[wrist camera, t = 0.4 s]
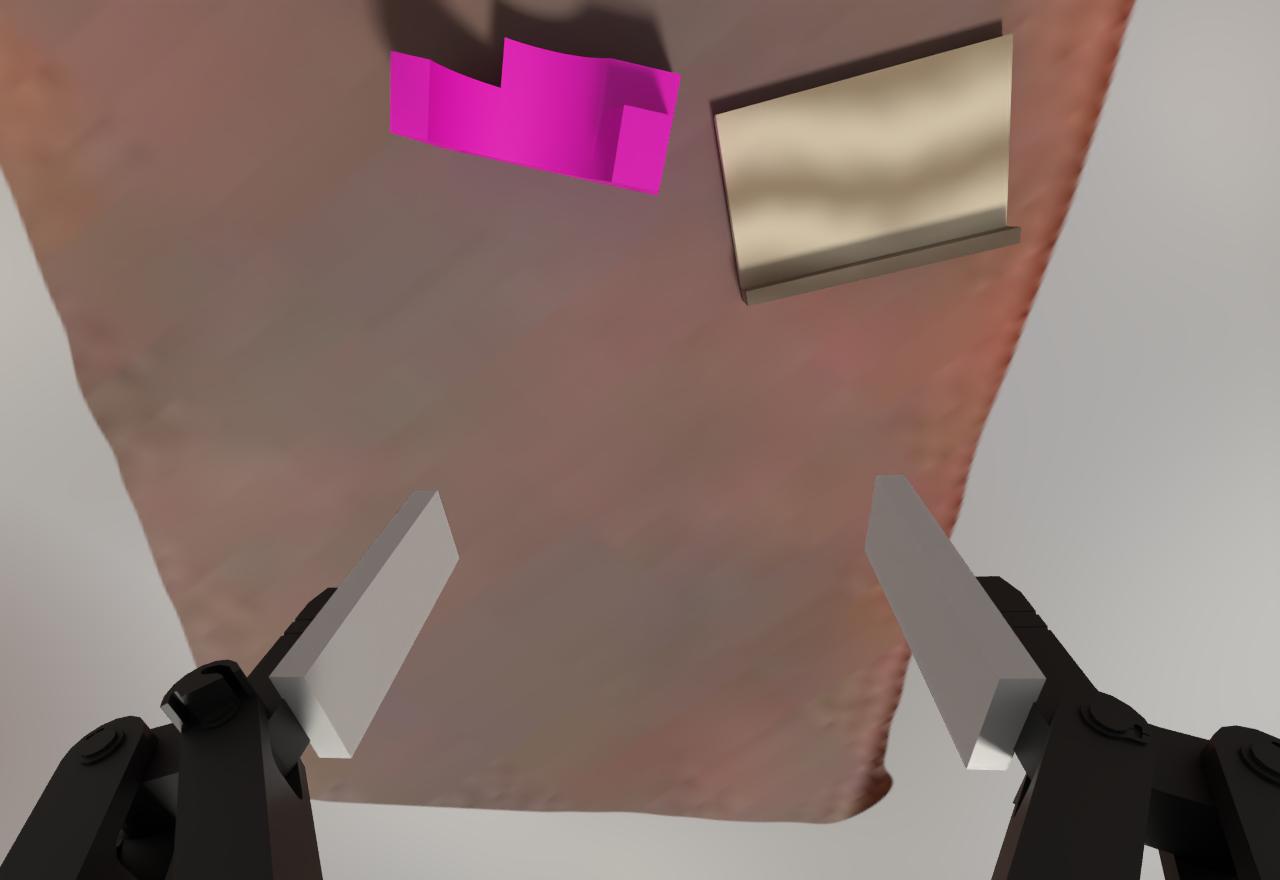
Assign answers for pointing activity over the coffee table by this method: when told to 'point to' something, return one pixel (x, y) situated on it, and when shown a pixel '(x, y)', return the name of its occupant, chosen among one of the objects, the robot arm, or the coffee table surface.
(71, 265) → the coffee table surface
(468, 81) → the toy block
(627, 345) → the coffee table surface
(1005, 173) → the board
